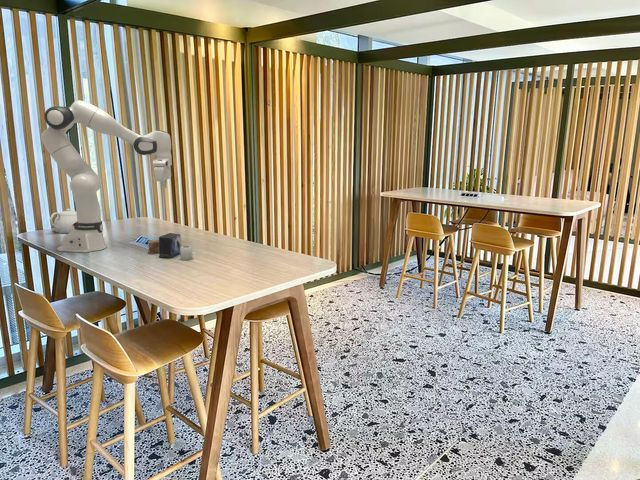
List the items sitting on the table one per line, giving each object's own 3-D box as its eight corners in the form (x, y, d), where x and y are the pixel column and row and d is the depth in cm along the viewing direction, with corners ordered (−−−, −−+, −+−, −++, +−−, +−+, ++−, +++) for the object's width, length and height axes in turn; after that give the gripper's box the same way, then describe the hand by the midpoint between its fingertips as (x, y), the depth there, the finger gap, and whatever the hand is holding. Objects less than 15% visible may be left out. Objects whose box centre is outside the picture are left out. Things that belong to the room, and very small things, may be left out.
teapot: (53, 229, 281) (51, 207, 278) (87, 227, 289) (85, 206, 286) (50, 235, 265) (48, 211, 262) (86, 233, 272) (84, 210, 270)
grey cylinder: (179, 260, 221) (179, 247, 220) (181, 257, 226) (181, 245, 225) (191, 260, 222) (190, 248, 220) (193, 257, 227) (193, 245, 226)
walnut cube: (148, 254, 230) (148, 242, 229) (149, 251, 236) (148, 239, 234) (161, 253, 232) (161, 241, 231) (161, 250, 238) (160, 239, 236)
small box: (171, 258, 223) (170, 237, 221) (158, 257, 225) (157, 236, 222) (181, 253, 233) (181, 233, 231) (170, 252, 235) (169, 232, 232)
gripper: (161, 160, 249) (162, 186, 252) (151, 162, 229) (152, 190, 232) (173, 161, 249) (174, 186, 252) (164, 163, 230) (165, 190, 233)
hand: (163, 188), depth 242 cm, fingers closed
